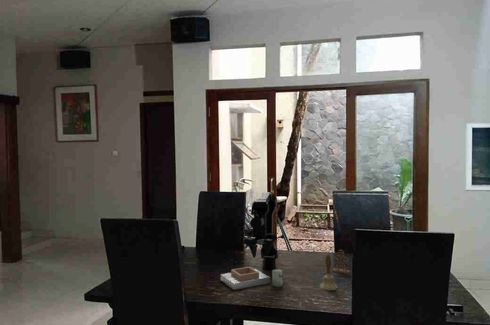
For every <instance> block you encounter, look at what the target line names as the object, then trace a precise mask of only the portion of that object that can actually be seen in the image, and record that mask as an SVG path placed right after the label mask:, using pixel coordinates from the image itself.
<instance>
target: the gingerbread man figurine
mask: <svg viewBox="0 0 490 325" xmlns="http://www.w3.org/2000/svg"><path fill="white" fill-rule="evenodd" d="M333 257H334V258H335V260H337V264H336V265H335V267H334V268H332V270H331V272H332V273H338V274H345V275H348V274H350V273H351V270H349V269H348V268H347V266H346V265H345V264H349V259H348V257H347V256H345V251H344V250H343V249H339V250H338V251H337V252H334V253H333ZM337 257H338V258H337ZM343 258H345V259H346V260H345V259H343ZM339 264H340V265H339ZM338 265H339V267H338ZM343 266H344V267H343ZM349 272H350V273H349Z"/></svg>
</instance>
